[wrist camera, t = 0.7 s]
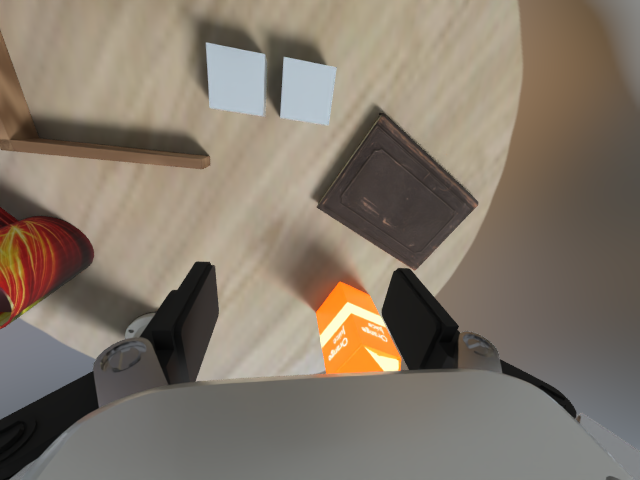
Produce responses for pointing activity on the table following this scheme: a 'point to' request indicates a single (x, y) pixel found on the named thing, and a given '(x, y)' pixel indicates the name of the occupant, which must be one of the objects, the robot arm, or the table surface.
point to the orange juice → (354, 334)
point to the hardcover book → (397, 196)
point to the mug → (37, 261)
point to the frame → (20, 135)
